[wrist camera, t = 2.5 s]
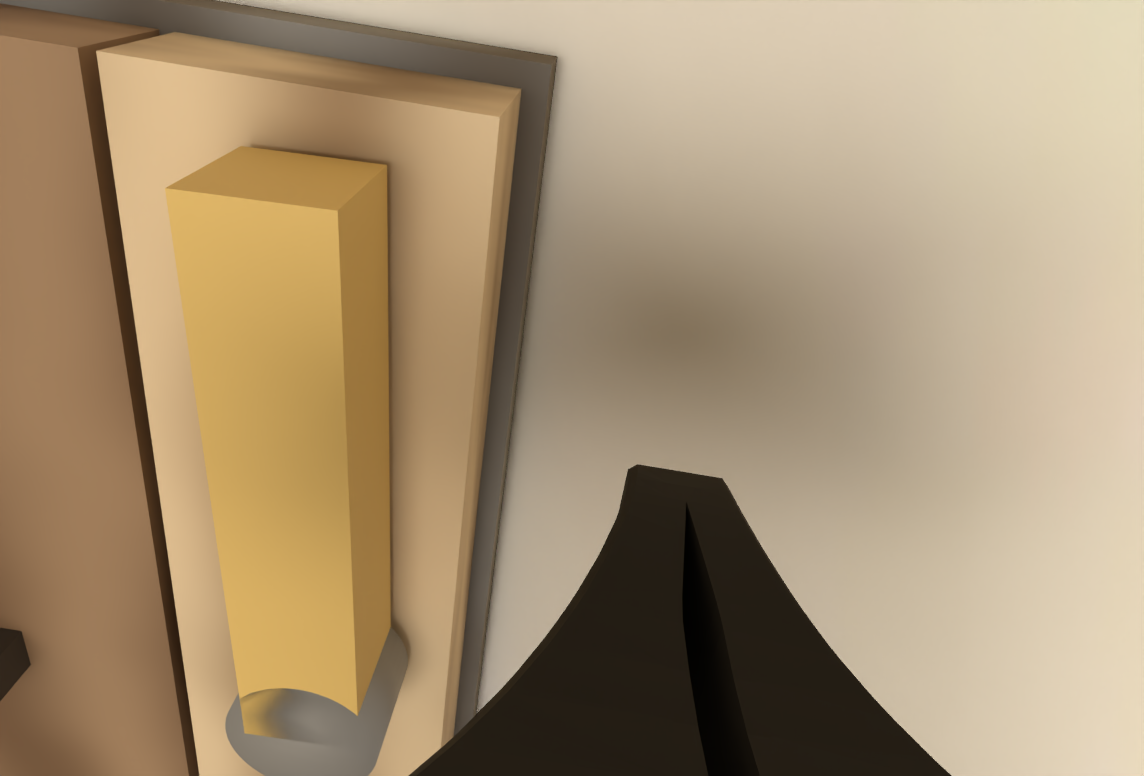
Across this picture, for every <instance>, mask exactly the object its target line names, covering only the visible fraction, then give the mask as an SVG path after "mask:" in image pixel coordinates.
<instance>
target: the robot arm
mask: <svg viewBox="0 0 1144 776" xmlns="http://www.w3.org/2000/svg"><path fill="white" fill-rule="evenodd" d="M409 776H951V775H950V774H949V773H948V772H947V771H946V770H945V769H944V768H942V767H941V766H940V765H939V764H938V763H937V762H936V761H935V760H934V759H933V758H932V757H931V756H930V755H929V754H928V753H927V752H926V751H925V750H924V749H923V748H922V747H921V746H920V745H919V744H918V743H917V742H916V741H915V740H914V739H913V738H912V737H911V736H910V735H909V734H908V733H907V732H906V731H905V730H904V729H903V728H902V727H901V726H900V725H899V724H898V723H897V722H896V721H895V720H894V719H893V718H892V717H891V716H890V715H889V714H888V713H887V712H886V711H885V710H884V709H883V708H882V707H881V705H880V704H879V703H878V702H877V701H876V700H875V699H874V698H873V697H872V696H871V695H870V693H869V692H868V691H867V690H866V689H865V688H864V686H863V685H862V684H861V683H860V682H859V681H858V680H857V678H856V677H855V676H854V675H853V674H852V673H851V671H850V670H849V669H848V668H847V667H846V666H845V664H844V663H843V662H842V661H841V660H840V659H839V657H838V656H837V655H836V654H835V652H834V651H833V650H832V649H831V648H830V646H829V645H828V644H827V642H826V641H825V640H824V639H823V637H822V636H821V634H820V633H819V632H818V630H817V629H816V628H815V626H814V625H813V623H812V622H811V621H810V619H809V618H808V617H807V615H806V614H805V613H804V611H803V610H802V608H801V607H800V605H799V604H798V602H797V601H796V600H795V598H794V597H793V595H792V594H791V592H790V591H789V589H788V588H787V586H786V584H785V583H784V581H783V580H782V578H781V577H780V575H779V574H778V572H777V571H776V569H775V567H774V566H773V564H772V563H771V561H770V560H769V558H768V556H767V555H766V553H765V551H764V550H763V548H762V547H761V545H760V543H759V541H758V540H757V538H756V536H755V535H754V533H753V531H752V529H751V528H750V526H749V524H748V523H747V521H746V519H745V517H744V515H743V514H742V512H741V510H740V508H739V506H738V505H737V503H736V501H735V499H734V497H733V495H732V494H731V492H730V490H729V488H728V486H727V485H726V483H725V482H724V481H723V479H722V478H716V477H710V476H704V475H698V474H692V473H686V472H680V471H674V470H668V469H662V468H656V467H650V466H644V465H638V464H637V465H636V466H634V467H632V468H630V469H628V472H627V477H626V481H625V486H624V491H623V495H622V500H621V504H620V509H619V513H618V516H617V518H616V521H615V523H614V525H613V527H612V529H611V531H610V533H609V535H608V538H607V540H606V542H605V544H604V546H603V548H602V550H601V552H600V554H599V556H598V558H597V559H596V561H595V563H594V564H593V566H592V568H591V569H590V571H589V573H588V575H587V576H586V578H585V580H584V581H583V583H582V585H581V586H580V588H579V590H578V591H577V593H576V594H575V596H574V597H573V599H572V600H571V602H570V603H569V605H568V606H567V608H566V609H565V611H564V612H563V614H562V615H561V617H560V618H559V619H558V621H557V622H556V623H555V625H554V626H553V627H552V629H551V630H550V631H549V633H548V634H547V636H546V637H545V638H544V639H543V641H542V642H541V643H540V644H539V646H538V647H537V648H536V649H535V650H534V652H533V653H532V654H531V655H530V657H529V658H528V659H527V660H526V661H525V663H524V664H523V665H522V666H521V667H520V669H519V670H518V671H517V672H516V673H515V674H514V676H513V677H512V678H511V679H510V680H509V681H508V682H507V683H506V684H505V686H504V687H503V688H502V689H501V690H500V691H499V692H498V693H497V694H496V695H495V696H494V697H493V698H492V699H491V700H490V701H489V702H488V703H487V704H486V705H485V706H484V707H483V708H482V709H481V710H480V711H479V712H478V713H477V714H476V715H475V716H474V717H473V718H472V719H471V720H470V721H469V722H468V723H467V724H466V725H465V726H464V727H463V728H462V729H461V730H460V731H459V732H458V733H457V734H456V735H455V736H454V737H453V738H452V739H451V740H449V741H448V742H447V743H446V744H445V745H444V746H443V747H442V748H440V749H439V750H438V751H437V752H436V753H434V754H433V755H432V756H431V757H430V758H429V759H427V760H426V761H425V762H424V763H423V764H421V765H420V766H419V767H418V768H417V769H416V770H414V771H413V772H412V773H411V774H410V775H409Z"/></svg>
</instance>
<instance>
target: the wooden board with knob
mask: <svg viewBox="0 0 1144 776" xmlns="http://www.w3.org/2000/svg"><path fill="white" fill-rule="evenodd" d="M556 62H557V57H556V56H550V55H544V54H537V53H531V52H525V51H519V50H513V49H507V48H501V47H495V46H489V45H483V44H476V43H470V42H464V41H458V40H452V39H446V38H440V37H434V36H428V35H422V34H416V33H409V32H403V31H397V30H391V29H385V28H379V27H373V26H367V25H361V24H355V23H348V22H342V21H336V20H330V19H324V18H318V17H312V16H306V15H300V14H294V13H288V12H281V11H275V10H269V9H263V8H257V7H251V6H245V5H239V4H233V3H227V2H220V1H214V0H0V776H265V775H263V774H261V773H260V772H258V771H256V770H255V769H253V768H252V767H251V766H249V765H248V764H247V763H246V762H245V761H244V760H243V759H242V758H241V757H239V755H238V754H237V753H236V752H235V750H234V749H233V747H232V746H231V744H230V742H229V740H228V738H227V734H226V729H225V722H226V717H227V714H228V711H229V710H230V708H231V706H232V704H233V702H234V700H235V698H236V696H237V695H238V693H239V692H238V685H237V678H236V671H235V664H234V658H233V651H232V644H231V637H230V630H229V623H228V617H227V610H226V603H225V596H224V589H223V582H222V576H221V569H220V562H219V555H218V548H217V541H216V535H215V528H214V521H213V514H212V507H211V500H210V494H209V487H208V480H207V473H206V466H205V459H204V453H203V446H202V439H201V432H200V425H199V418H198V412H197V405H196V398H195V391H194V384H193V377H192V371H191V364H190V357H189V350H188V343H187V336H186V329H185V323H184V316H183V309H182V302H181V295H180V288H179V282H178V275H177V268H176V261H175V254H174V247H173V241H172V234H171V227H170V220H169V213H168V206H167V200H166V193H165V188H166V187H168V186H170V185H171V184H173V183H175V182H177V181H179V180H180V179H182V178H184V177H186V176H188V175H190V174H191V173H193V172H195V171H197V170H199V169H200V168H202V167H204V166H206V165H208V164H209V163H211V162H213V161H215V160H217V159H218V158H220V157H222V156H224V155H226V154H227V153H229V152H231V151H233V150H235V149H236V148H238V147H240V146H245V147H252V148H260V149H268V150H275V151H283V152H291V153H299V154H306V155H314V156H322V157H330V158H337V159H345V160H353V161H360V162H368V163H376V164H384V165H387V226H388V352H389V478H390V604H391V627H392V628H393V629H394V631H395V632H396V633H397V634H398V635H399V637H400V638H401V640H402V642H403V644H404V646H405V648H406V652H407V656H408V666H407V670H406V674H405V677H404V680H403V683H402V686H401V689H400V692H399V695H398V698H397V701H396V704H395V707H394V710H393V714H392V717H391V720H390V723H389V726H388V729H387V732H386V735H385V738H384V741H383V744H382V747H381V750H380V753H379V756H378V759H377V762H376V765H375V767H374V769H373V771H372V772H371V773H370V774H369V775H368V776H409V775H410V774H411V773H412V772H413V771H414V770H416V769H417V768H418V767H419V766H420V765H421V764H423V763H424V762H425V761H426V760H427V759H429V758H430V757H431V756H432V755H433V754H434V753H436V752H437V751H438V750H439V749H440V748H442V747H443V746H444V745H445V744H446V743H447V742H448V741H449V740H451V739H452V738H453V737H454V736H455V735H456V734H457V733H458V732H459V731H460V730H461V729H462V728H463V727H464V726H465V725H466V724H467V723H468V722H469V721H470V720H471V719H472V718H473V717H474V716H475V715H476V710H477V702H478V694H479V685H480V677H481V669H482V661H483V653H484V645H485V637H486V629H487V621H488V613H489V604H490V596H491V588H492V580H493V572H494V564H495V556H496V548H497V540H498V532H499V524H500V515H501V507H502V499H503V491H504V483H505V475H506V467H507V459H508V451H509V443H510V434H511V426H512V418H513V410H514V402H515V394H516V386H517V378H518V370H519V362H520V354H521V345H522V337H523V329H524V321H525V313H526V305H527V297H528V289H529V281H530V273H531V264H532V256H533V248H534V240H535V232H536V224H537V216H538V208H539V200H540V192H541V184H542V175H543V167H544V159H545V151H546V143H547V135H548V127H549V119H550V111H551V103H552V94H553V86H554V78H555V70H556Z"/></svg>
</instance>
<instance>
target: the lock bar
mask: <svg viewBox="0 0 1144 776" xmlns="http://www.w3.org/2000/svg"><path fill="white" fill-rule="evenodd" d="M165 193H166V200H167V206H168V213H169V220H170V227H171V234H172V241H173V247H174V254H175V261H176V268H177V275H178V282H179V288H180V295H181V302H182V309H183V316H184V323H185V329H186V336H187V343H188V350H189V357H190V364H191V371H192V377H193V384H194V391H195V398H196V405H197V412H198V418H199V425H200V432H201V439H202V446H203V453H204V459H205V466H206V473H207V480H208V487H209V494H210V500H211V507H212V514H213V521H214V528H215V535H216V541H217V548H218V555H219V562H220V569H221V576H222V582H223V589H224V596H225V603H226V610H227V617H228V623H229V630H230V637H231V644H232V651H233V658H234V664H235V671H236V678H237V685H238V692H239V693H238V695H237V696H236V698H235V700H234V702H233V704H232V706H231V708H230V710H229V711H228V714H227V717H226V722H225V729H226V734H227V738H228V740H229V742H230V744H231V746H232V747H233V749H234V750H235V752H236V753H237V754H238V755H239V757H241V758H242V759H243V760H244V761H245V762H246V763H247V764H248V765H249V766H251V767H252V768H253V769H255V770H256V771H258V772H260V773H261V774H263V775H265V776H368V775H369V774H370V773H371V772H372V771H373V769H374V767H375V765H376V762H377V759H378V756H379V753H380V750H381V747H382V744H383V741H384V738H385V735H386V732H387V729H388V726H389V723H390V720H391V717H392V714H393V710H394V707H395V704H396V701H397V698H398V695H399V692H400V689H401V686H402V683H403V680H404V677H405V674H406V670H407V666H408V656H407V652H406V648H405V646H404V644H403V642H402V640H401V638H400V637H399V635H398V634H397V633H396V632H395V631H394V629H393V628H392V627H391V604H390V478H389V352H388V226H387V165H384V164H376V163H368V162H360V161H353V160H345V159H337V158H330V157H322V156H314V155H306V154H299V153H291V152H283V151H275V150H268V149H260V148H252V147H245V146H240V147H238V148H236V149H235V150H233V151H231V152H229V153H227V154H226V155H224V156H222V157H220V158H218V159H217V160H215V161H213V162H211V163H209V164H208V165H206V166H204V167H202V168H200V169H199V170H197V171H195V172H193V173H191V174H190V175H188V176H186V177H184V178H182V179H180V180H179V181H177V182H175V183H173V184H171V185H170V186H168V187H166V188H165Z"/></svg>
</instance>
